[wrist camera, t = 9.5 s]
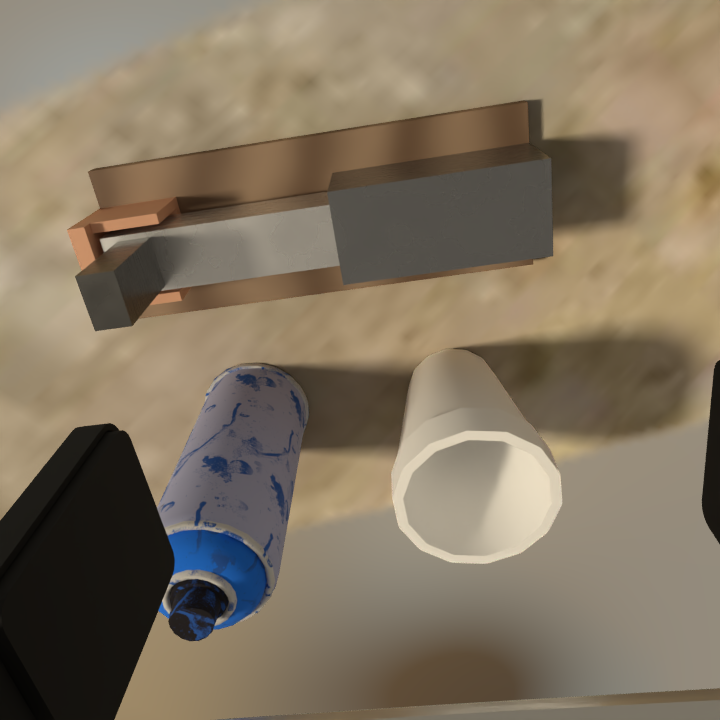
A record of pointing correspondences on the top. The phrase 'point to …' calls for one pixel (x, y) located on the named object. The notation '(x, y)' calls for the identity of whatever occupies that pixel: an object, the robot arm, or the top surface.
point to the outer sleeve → (442, 213)
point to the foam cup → (470, 465)
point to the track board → (301, 186)
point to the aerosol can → (232, 499)
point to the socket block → (122, 217)
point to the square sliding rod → (205, 253)
